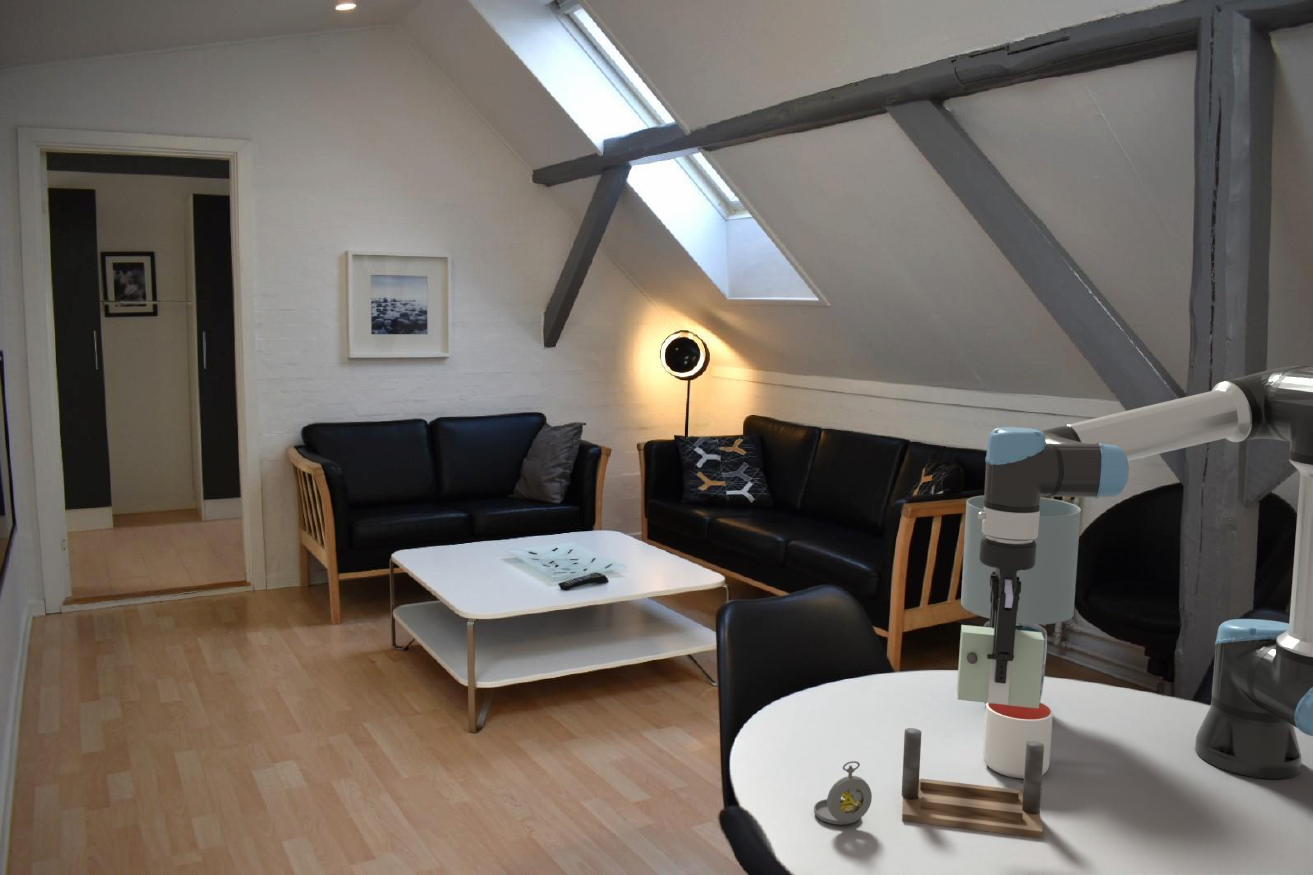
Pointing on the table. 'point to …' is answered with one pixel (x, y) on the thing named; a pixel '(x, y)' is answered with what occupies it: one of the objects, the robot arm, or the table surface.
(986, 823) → the hinge board
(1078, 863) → the table surface
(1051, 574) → the lamp
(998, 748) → the cup
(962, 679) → the door
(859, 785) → the pocket watch
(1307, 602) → the robot arm
